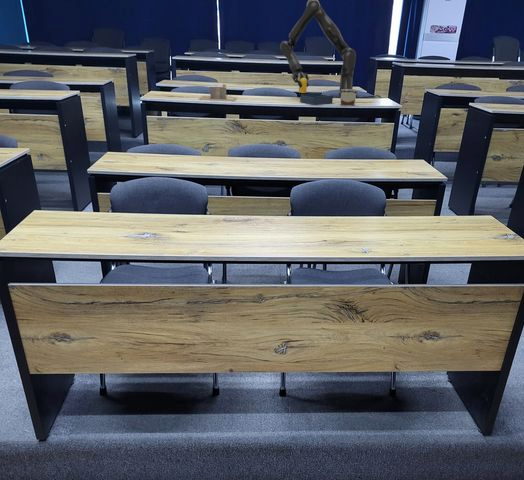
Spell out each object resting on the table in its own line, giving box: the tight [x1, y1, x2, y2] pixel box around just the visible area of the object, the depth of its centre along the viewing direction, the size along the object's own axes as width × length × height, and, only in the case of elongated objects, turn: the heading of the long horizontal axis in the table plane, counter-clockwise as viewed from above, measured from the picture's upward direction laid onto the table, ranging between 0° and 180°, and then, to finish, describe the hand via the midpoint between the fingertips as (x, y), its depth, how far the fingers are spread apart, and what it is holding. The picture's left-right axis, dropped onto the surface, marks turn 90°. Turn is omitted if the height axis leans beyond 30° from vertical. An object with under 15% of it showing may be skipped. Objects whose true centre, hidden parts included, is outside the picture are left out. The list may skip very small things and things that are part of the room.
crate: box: [299, 92, 334, 106], centre depth 378 cm, size 18×16×5 cm
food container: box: [340, 88, 358, 107], centre depth 372 cm, size 12×6×10 cm, turn 84°
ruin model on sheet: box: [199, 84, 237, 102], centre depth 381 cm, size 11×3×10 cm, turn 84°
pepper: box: [298, 76, 308, 94], centre depth 384 cm, size 6×6×11 cm
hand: (304, 86), depth 384 cm, fingers closed on pepper, 5 cm apart
